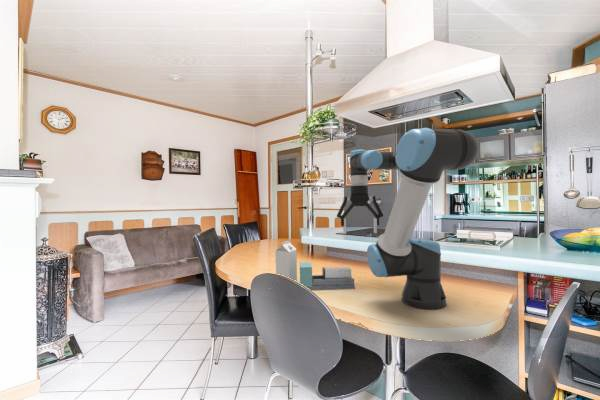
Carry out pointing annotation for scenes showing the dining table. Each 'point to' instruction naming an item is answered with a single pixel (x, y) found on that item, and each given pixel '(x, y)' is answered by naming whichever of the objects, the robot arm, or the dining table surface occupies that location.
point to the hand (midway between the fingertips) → (360, 233)
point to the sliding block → (336, 272)
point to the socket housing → (306, 274)
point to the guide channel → (331, 283)
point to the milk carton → (286, 260)
